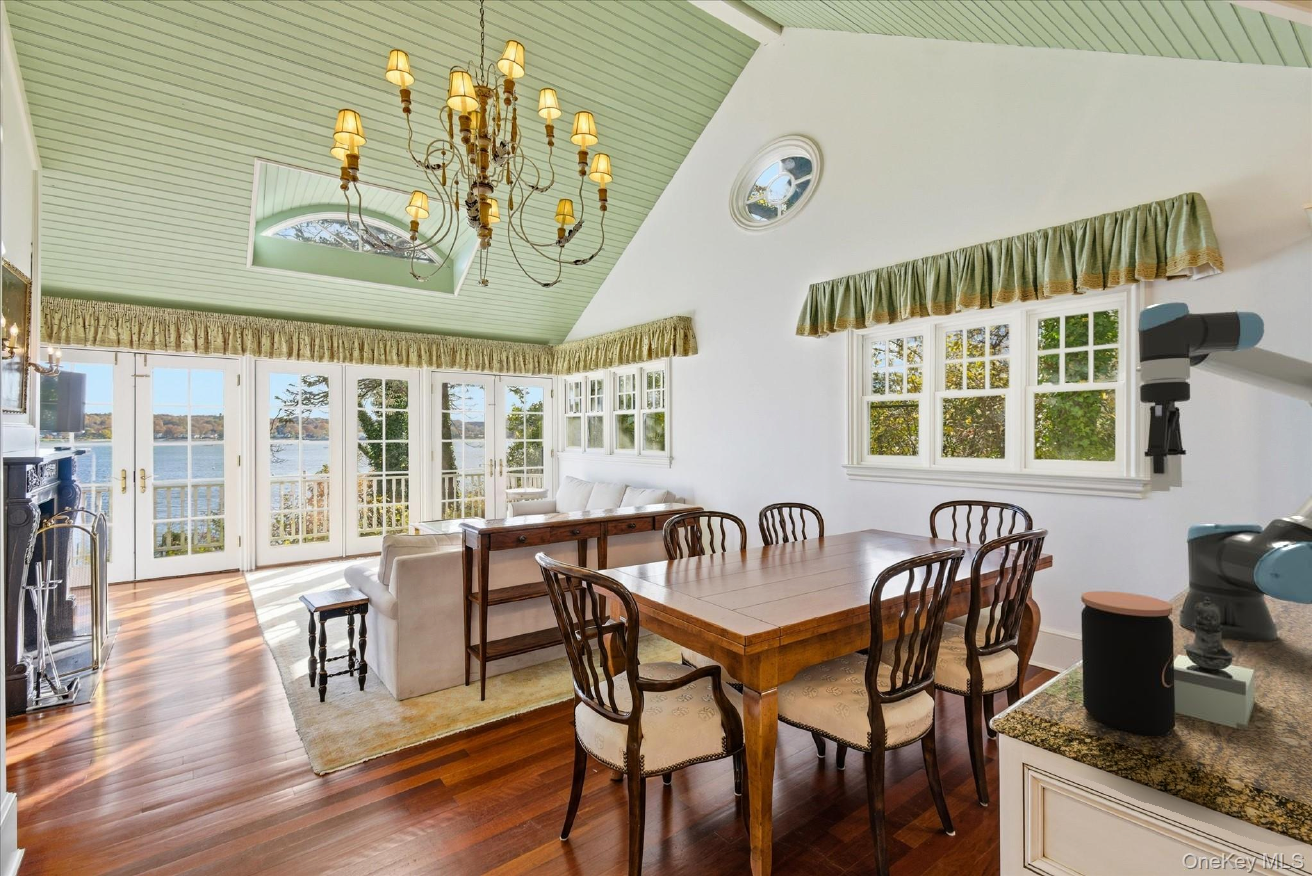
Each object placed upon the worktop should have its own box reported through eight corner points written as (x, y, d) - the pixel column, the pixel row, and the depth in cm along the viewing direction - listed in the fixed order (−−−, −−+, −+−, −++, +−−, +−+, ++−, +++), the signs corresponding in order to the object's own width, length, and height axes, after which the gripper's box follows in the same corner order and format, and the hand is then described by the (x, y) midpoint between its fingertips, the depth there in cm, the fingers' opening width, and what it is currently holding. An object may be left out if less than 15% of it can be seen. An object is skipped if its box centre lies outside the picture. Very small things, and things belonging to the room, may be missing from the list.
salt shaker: (1184, 663, 95) (1183, 589, 96) (1235, 672, 91) (1233, 596, 91) (1182, 673, 91) (1180, 596, 91) (1235, 684, 87) (1233, 603, 87)
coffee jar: (1184, 746, 79) (1181, 614, 79) (1086, 727, 85) (1084, 603, 85) (1167, 715, 88) (1164, 596, 88) (1080, 699, 94) (1078, 587, 94)
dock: (1179, 683, 99) (1178, 645, 99) (1254, 701, 92) (1253, 659, 92) (1163, 709, 90) (1162, 666, 90) (1246, 730, 83) (1245, 684, 83)
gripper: (1152, 387, 127) (1154, 484, 127) (1126, 380, 111) (1128, 491, 111) (1199, 384, 122) (1201, 485, 122) (1178, 376, 105) (1181, 494, 105)
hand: (1166, 488), depth 116 cm, fingers open, 13 cm apart
